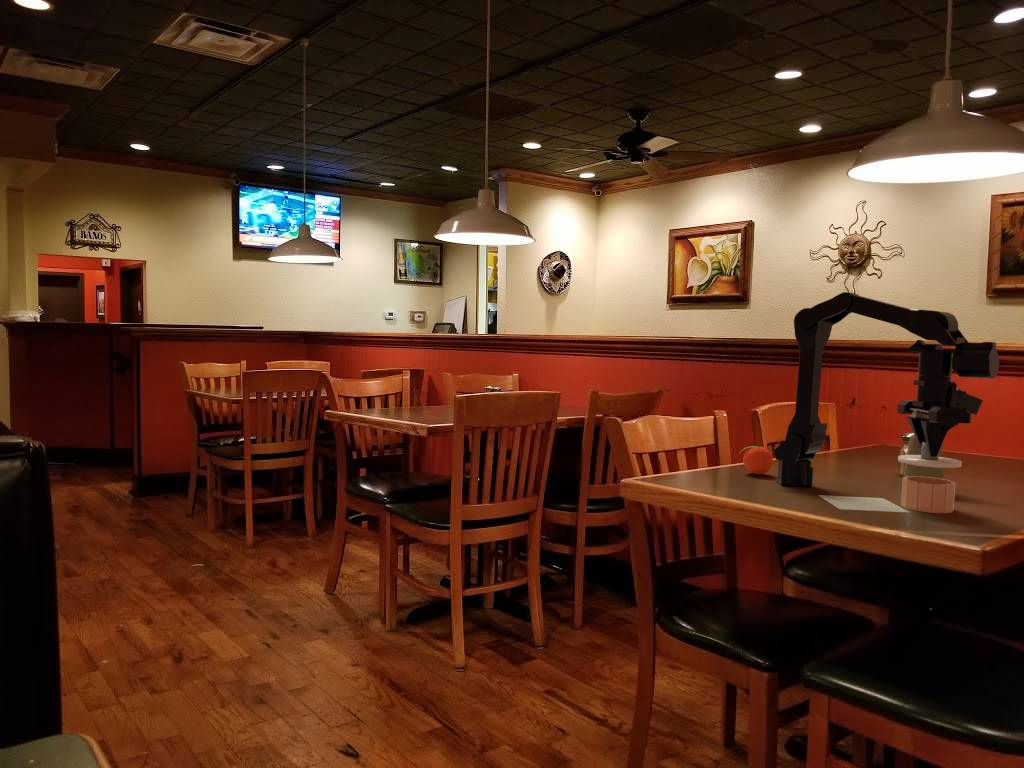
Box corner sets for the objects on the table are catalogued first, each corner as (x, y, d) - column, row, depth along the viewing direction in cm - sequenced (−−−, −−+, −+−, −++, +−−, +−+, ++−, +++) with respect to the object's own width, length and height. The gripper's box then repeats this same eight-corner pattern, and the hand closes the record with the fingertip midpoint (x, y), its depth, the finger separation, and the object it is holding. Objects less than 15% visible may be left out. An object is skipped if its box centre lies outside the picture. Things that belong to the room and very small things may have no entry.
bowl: (913, 514, 148) (915, 483, 148) (893, 504, 157) (895, 475, 157) (961, 516, 147) (964, 485, 147) (939, 506, 156) (941, 477, 156)
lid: (912, 466, 147) (913, 445, 146) (888, 457, 158) (889, 438, 157) (972, 469, 146) (974, 447, 146) (944, 459, 157) (946, 440, 156)
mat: (839, 512, 148) (839, 508, 148) (818, 498, 161) (818, 495, 161) (909, 515, 147) (910, 512, 147) (882, 501, 160) (883, 498, 160)
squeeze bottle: (928, 485, 180) (933, 408, 178) (951, 493, 172) (956, 412, 170) (895, 485, 179) (900, 408, 178) (916, 492, 171) (921, 411, 170)
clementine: (738, 475, 186) (740, 446, 185) (737, 470, 192) (738, 442, 192) (773, 478, 184) (775, 448, 183) (770, 473, 191) (772, 444, 190)
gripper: (1004, 379, 141) (998, 464, 142) (954, 375, 159) (949, 450, 160) (940, 377, 142) (935, 462, 143) (898, 373, 160) (894, 447, 161)
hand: (929, 455), depth 152 cm, fingers closed on lid, 3 cm apart
